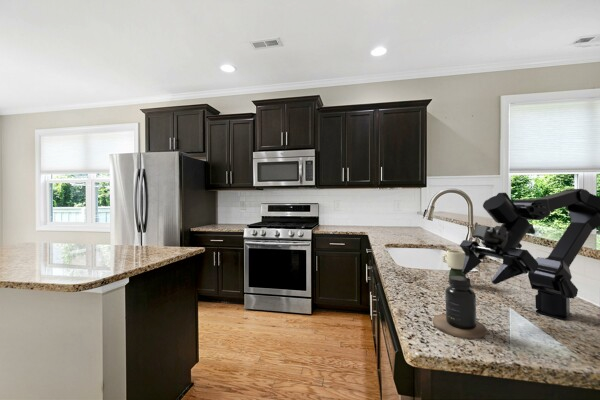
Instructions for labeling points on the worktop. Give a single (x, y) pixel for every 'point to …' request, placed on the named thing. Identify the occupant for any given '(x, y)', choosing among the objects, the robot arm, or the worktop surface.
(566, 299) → the robot arm
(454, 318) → the supplement bottle
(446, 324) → the walnut trivet
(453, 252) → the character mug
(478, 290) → the worktop surface
